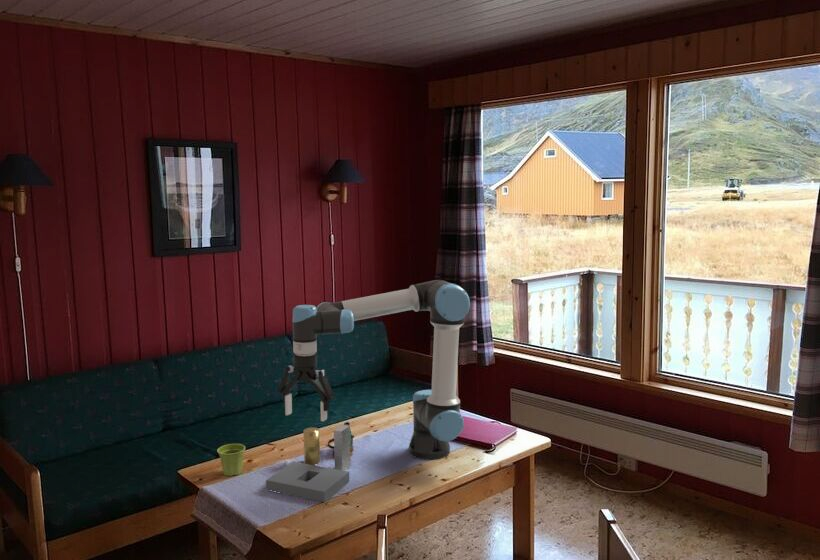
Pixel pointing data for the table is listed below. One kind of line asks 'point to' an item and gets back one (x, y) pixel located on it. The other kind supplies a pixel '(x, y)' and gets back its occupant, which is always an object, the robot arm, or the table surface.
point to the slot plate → (318, 486)
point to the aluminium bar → (342, 447)
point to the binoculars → (350, 440)
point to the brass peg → (311, 446)
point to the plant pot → (231, 458)
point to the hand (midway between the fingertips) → (306, 417)
